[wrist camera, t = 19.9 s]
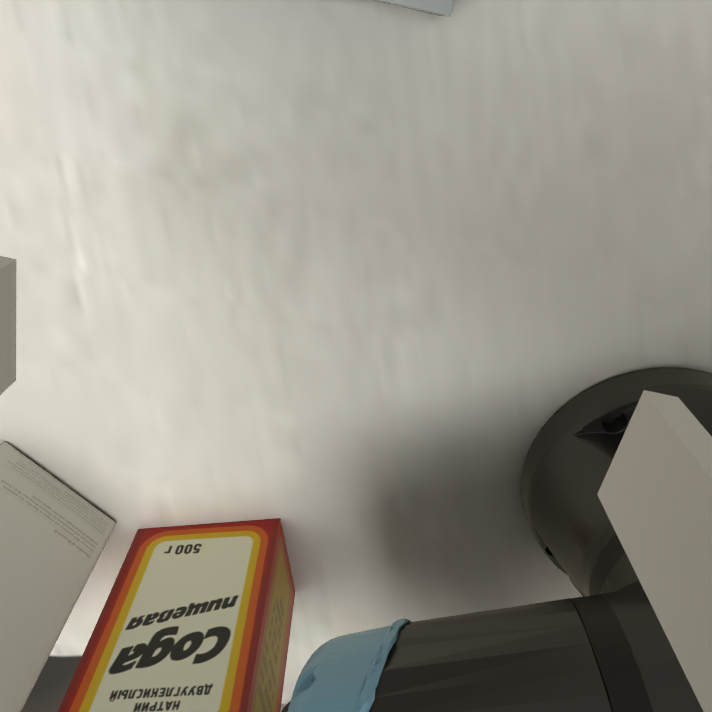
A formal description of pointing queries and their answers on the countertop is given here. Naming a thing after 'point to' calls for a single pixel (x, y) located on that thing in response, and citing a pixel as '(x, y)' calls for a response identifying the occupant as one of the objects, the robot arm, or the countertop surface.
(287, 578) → the baking soda box
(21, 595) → the supplement box
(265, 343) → the countertop surface
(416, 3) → the slate tote
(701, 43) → the countertop surface
